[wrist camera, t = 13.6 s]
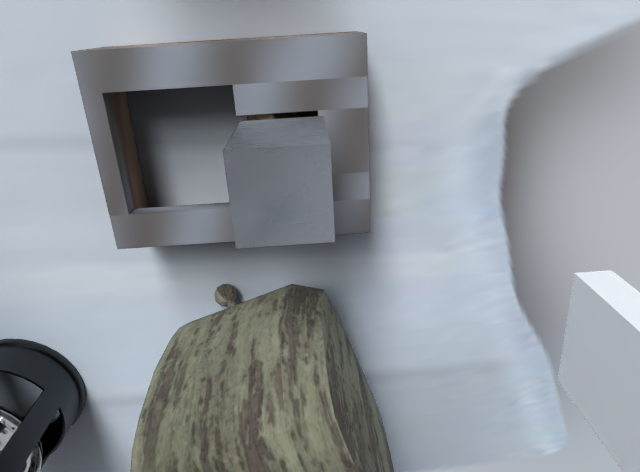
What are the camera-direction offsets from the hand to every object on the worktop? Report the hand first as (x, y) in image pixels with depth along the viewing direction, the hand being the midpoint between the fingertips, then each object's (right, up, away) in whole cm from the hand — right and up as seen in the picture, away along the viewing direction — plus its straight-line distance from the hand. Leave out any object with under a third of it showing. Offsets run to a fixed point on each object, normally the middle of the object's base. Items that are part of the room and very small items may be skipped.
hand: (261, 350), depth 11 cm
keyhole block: (-4, +9, +22) cm, 24 cm away
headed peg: (-1, +9, +22) cm, 24 cm away
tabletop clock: (-1, -5, +28) cm, 29 cm away
